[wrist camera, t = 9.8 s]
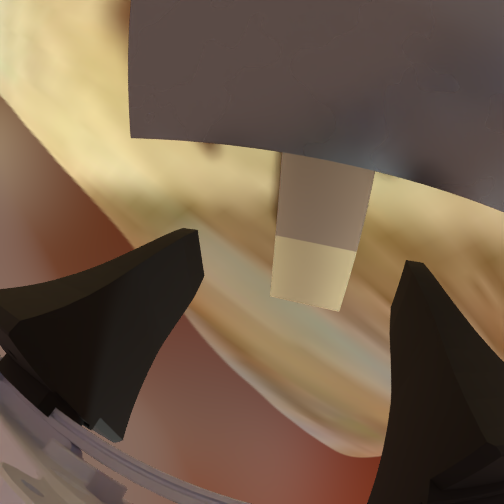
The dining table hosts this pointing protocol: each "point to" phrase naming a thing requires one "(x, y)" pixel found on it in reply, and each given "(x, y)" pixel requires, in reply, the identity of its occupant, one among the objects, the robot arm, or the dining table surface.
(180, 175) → the dining table surface
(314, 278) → the capped rod
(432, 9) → the sleeve housing
